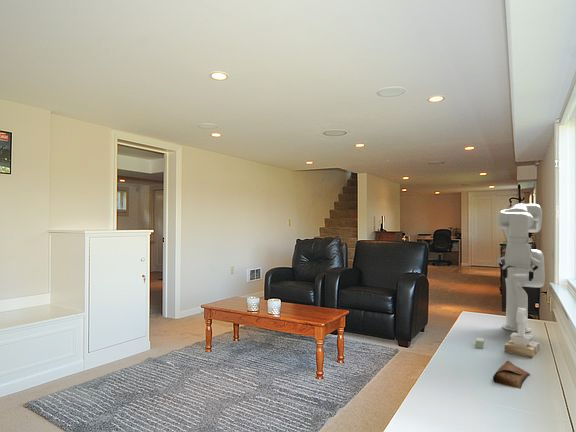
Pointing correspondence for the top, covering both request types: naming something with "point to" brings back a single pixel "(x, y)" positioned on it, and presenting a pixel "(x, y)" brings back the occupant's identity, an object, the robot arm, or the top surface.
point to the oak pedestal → (521, 349)
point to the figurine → (521, 329)
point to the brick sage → (480, 342)
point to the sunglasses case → (510, 375)
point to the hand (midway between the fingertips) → (517, 279)
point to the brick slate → (536, 343)
